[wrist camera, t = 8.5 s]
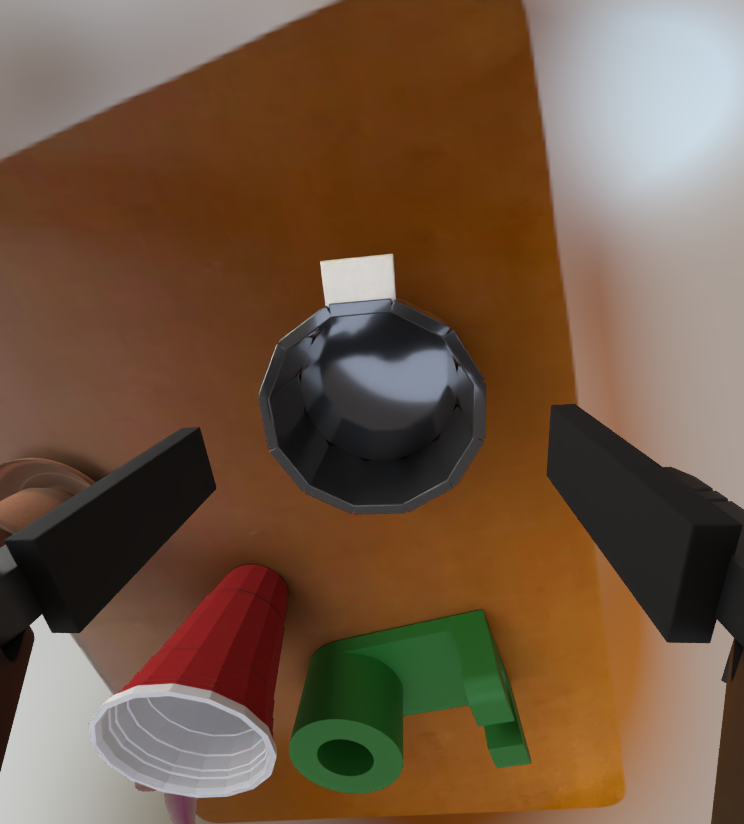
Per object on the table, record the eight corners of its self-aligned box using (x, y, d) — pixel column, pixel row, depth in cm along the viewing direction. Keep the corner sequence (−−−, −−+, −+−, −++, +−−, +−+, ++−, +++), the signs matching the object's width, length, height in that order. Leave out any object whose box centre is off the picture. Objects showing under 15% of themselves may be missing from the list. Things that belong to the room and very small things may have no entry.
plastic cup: (262, 653, 34) (192, 833, 23) (175, 581, 32) (51, 740, 21) (344, 601, 31) (311, 778, 20) (255, 518, 29) (161, 663, 18)
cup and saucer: (139, 583, 33) (82, 646, 27) (12, 551, 33) (-73, 608, 27) (141, 469, 29) (73, 515, 23) (-5, 433, 29) (-109, 469, 23)
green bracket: (331, 713, 36) (316, 798, 30) (293, 650, 34) (269, 729, 28) (510, 682, 33) (534, 771, 27) (482, 609, 30) (502, 689, 24)
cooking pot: (465, 460, 24) (484, 511, 19) (308, 466, 26) (280, 516, 20) (464, 256, 20) (488, 243, 15) (277, 274, 21) (232, 269, 16)
